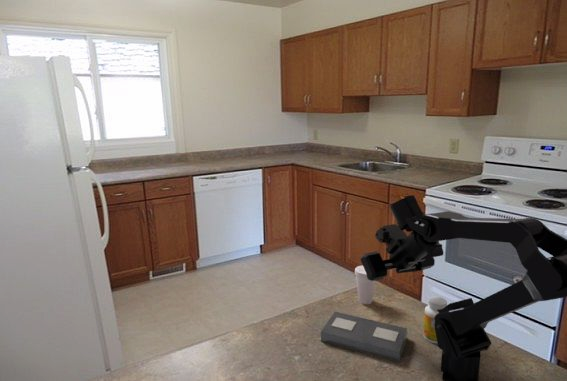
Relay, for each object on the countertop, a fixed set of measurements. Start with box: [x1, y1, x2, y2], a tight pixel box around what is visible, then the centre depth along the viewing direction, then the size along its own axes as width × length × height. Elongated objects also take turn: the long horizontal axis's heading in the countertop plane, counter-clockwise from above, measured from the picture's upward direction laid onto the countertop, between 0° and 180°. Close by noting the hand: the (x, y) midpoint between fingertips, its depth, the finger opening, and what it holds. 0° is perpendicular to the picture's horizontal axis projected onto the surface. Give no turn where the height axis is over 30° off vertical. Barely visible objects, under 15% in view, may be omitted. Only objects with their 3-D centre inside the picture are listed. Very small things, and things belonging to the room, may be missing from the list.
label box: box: [320, 311, 408, 363], centre depth 89 cm, size 18×10×3 cm, turn 63°
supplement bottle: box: [422, 295, 448, 345], centre depth 89 cm, size 5×5×10 cm
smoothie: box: [354, 264, 377, 305], centre depth 106 cm, size 6×6×14 cm
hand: (382, 274), depth 98 cm, fingers open, 9 cm apart
